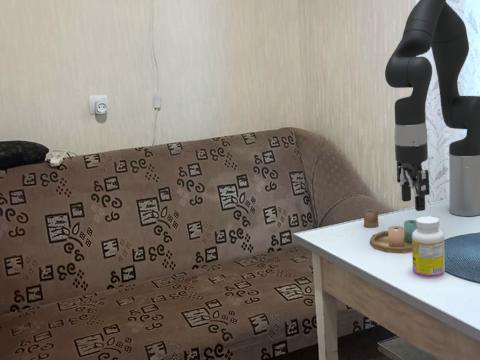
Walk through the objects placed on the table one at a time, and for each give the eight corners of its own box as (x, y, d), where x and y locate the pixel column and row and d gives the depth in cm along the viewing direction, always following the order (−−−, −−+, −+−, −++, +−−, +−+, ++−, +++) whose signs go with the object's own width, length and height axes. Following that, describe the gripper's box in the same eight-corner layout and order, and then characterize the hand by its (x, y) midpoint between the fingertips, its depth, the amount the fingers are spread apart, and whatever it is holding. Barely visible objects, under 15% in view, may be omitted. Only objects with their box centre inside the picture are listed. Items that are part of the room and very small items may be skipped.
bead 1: (365, 226, 164) (365, 208, 163) (379, 226, 162) (379, 209, 161) (362, 230, 161) (362, 212, 159) (376, 231, 159) (376, 213, 158)
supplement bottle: (416, 268, 132) (415, 214, 129) (446, 271, 129) (446, 215, 126) (409, 279, 126) (408, 223, 124) (441, 283, 123) (441, 225, 120)
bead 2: (390, 244, 146) (389, 225, 144) (405, 245, 144) (405, 226, 143) (387, 250, 142) (386, 230, 141) (403, 251, 141) (402, 231, 140)
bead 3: (402, 239, 148) (401, 220, 147) (416, 238, 149) (416, 219, 148) (407, 244, 145) (407, 225, 144) (422, 242, 145) (422, 223, 144)
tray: (376, 235, 156) (376, 228, 155) (431, 238, 150) (431, 231, 149) (365, 254, 143) (364, 246, 143) (424, 258, 137) (424, 250, 137)
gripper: (385, 138, 147) (388, 200, 151) (407, 148, 133) (410, 216, 137) (414, 134, 148) (416, 196, 152) (439, 144, 134) (440, 211, 138)
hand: (413, 205), depth 145 cm, fingers open, 8 cm apart
